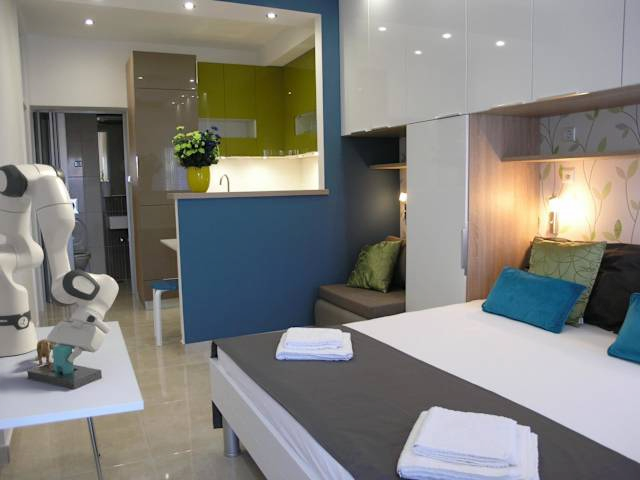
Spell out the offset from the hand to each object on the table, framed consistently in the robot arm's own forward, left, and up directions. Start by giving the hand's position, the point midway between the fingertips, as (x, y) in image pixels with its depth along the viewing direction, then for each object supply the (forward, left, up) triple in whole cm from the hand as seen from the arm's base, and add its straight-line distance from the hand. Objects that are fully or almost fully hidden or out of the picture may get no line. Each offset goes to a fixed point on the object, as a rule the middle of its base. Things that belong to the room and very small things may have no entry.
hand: (61, 360), depth 173 cm
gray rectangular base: (0, +1, -6) cm, 6 cm away
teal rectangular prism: (0, +1, -5) cm, 5 cm away
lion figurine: (-20, +9, -6) cm, 23 cm away
